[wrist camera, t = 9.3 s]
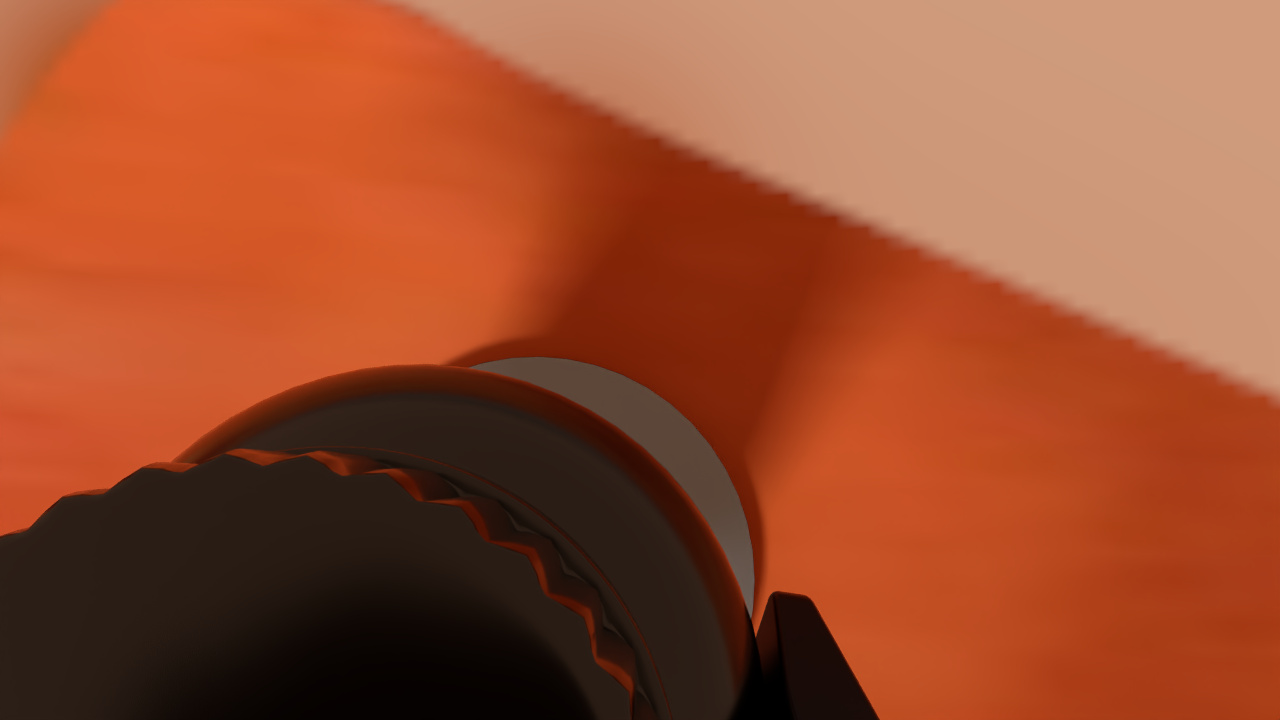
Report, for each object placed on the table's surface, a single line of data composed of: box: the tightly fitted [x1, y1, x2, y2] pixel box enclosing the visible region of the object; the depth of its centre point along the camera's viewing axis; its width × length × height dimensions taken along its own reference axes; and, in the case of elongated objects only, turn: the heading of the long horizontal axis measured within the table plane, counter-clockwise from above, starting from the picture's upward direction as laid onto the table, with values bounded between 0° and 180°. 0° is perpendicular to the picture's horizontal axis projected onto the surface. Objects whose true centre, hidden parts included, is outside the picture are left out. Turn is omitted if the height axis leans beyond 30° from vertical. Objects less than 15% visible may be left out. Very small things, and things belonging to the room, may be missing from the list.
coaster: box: [469, 357, 755, 618], centre depth 20 cm, size 10×10×1 cm
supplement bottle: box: [0, 364, 766, 720], centre depth 10 cm, size 7×7×12 cm
